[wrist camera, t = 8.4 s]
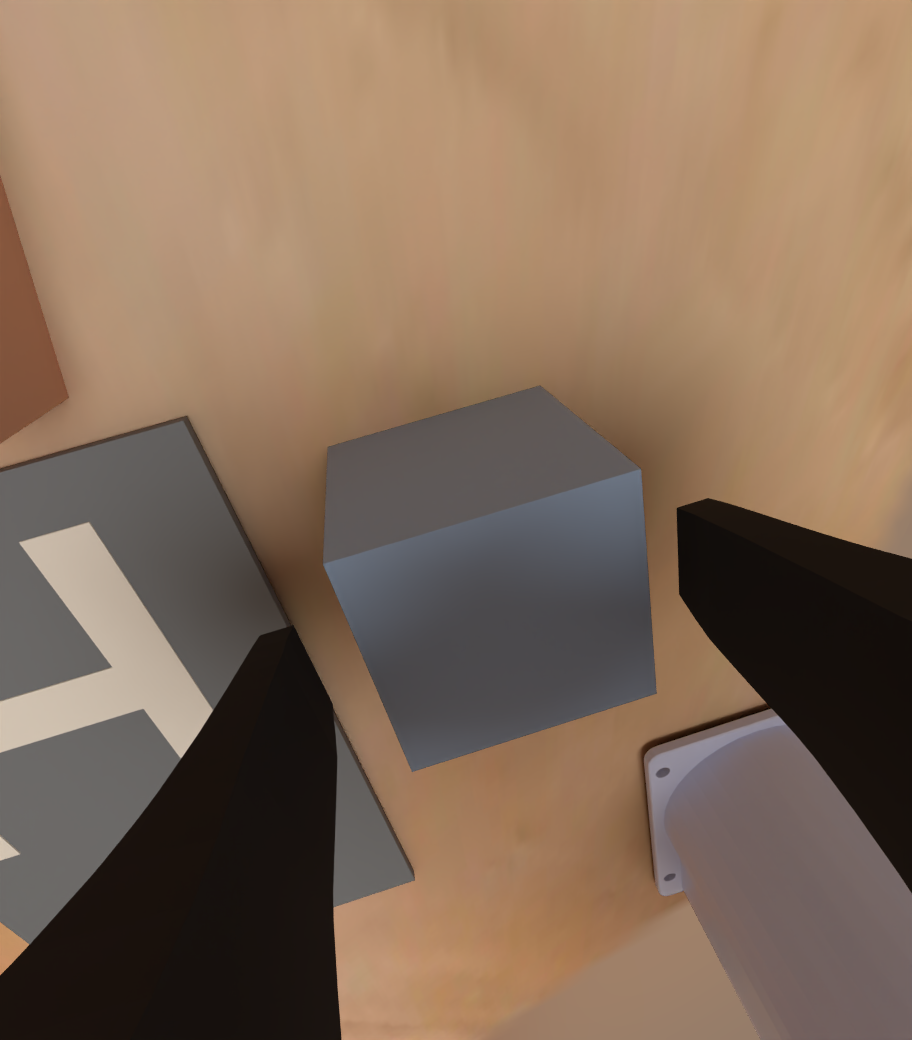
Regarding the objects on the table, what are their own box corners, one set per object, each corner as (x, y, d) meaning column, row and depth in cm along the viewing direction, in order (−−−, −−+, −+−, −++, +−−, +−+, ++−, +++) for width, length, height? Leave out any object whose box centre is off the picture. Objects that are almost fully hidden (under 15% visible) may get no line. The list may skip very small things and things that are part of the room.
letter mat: (413, 872, 21) (415, 881, 20) (90, 978, 20) (87, 989, 20) (186, 416, 12) (182, 421, 11) (-411, 584, 11) (-432, 595, 11)
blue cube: (566, 559, 15) (656, 693, 11) (391, 613, 15) (411, 771, 11) (538, 384, 13) (641, 468, 9) (327, 445, 13) (322, 563, 8)
